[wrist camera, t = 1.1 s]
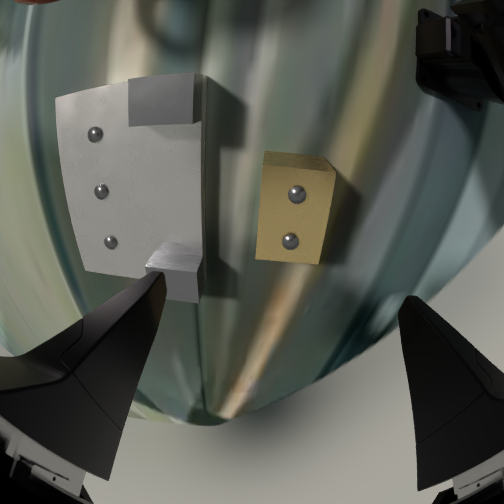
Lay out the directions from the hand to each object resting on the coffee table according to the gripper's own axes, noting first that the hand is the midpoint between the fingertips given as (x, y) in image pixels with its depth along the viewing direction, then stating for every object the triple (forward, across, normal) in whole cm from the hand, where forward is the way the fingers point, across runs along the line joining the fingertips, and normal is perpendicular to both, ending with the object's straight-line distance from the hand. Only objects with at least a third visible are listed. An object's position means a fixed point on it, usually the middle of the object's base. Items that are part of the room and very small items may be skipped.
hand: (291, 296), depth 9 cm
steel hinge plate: (+11, +12, +1) cm, 16 cm away
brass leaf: (+11, 0, 0) cm, 11 cm away
